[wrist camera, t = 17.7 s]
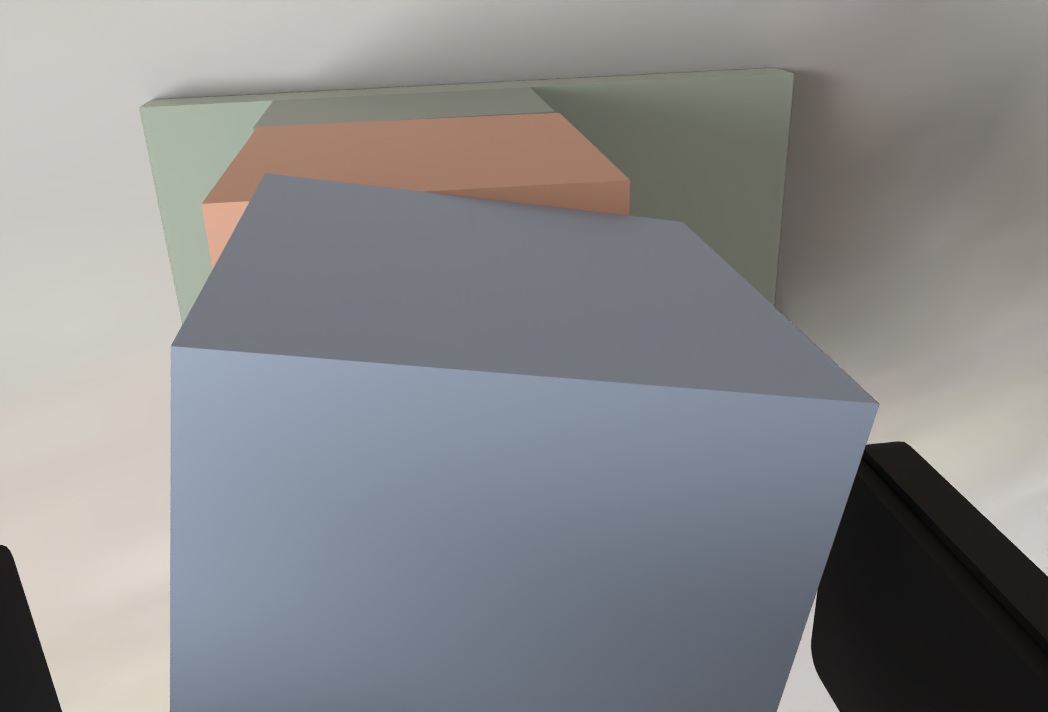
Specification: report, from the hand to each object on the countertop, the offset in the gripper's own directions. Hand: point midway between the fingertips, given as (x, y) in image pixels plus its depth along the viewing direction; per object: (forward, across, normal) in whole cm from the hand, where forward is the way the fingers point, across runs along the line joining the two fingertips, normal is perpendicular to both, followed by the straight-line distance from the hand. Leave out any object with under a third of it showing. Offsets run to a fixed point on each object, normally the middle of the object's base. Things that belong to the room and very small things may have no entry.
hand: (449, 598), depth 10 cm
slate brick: (+2, 0, 0) cm, 2 cm away
